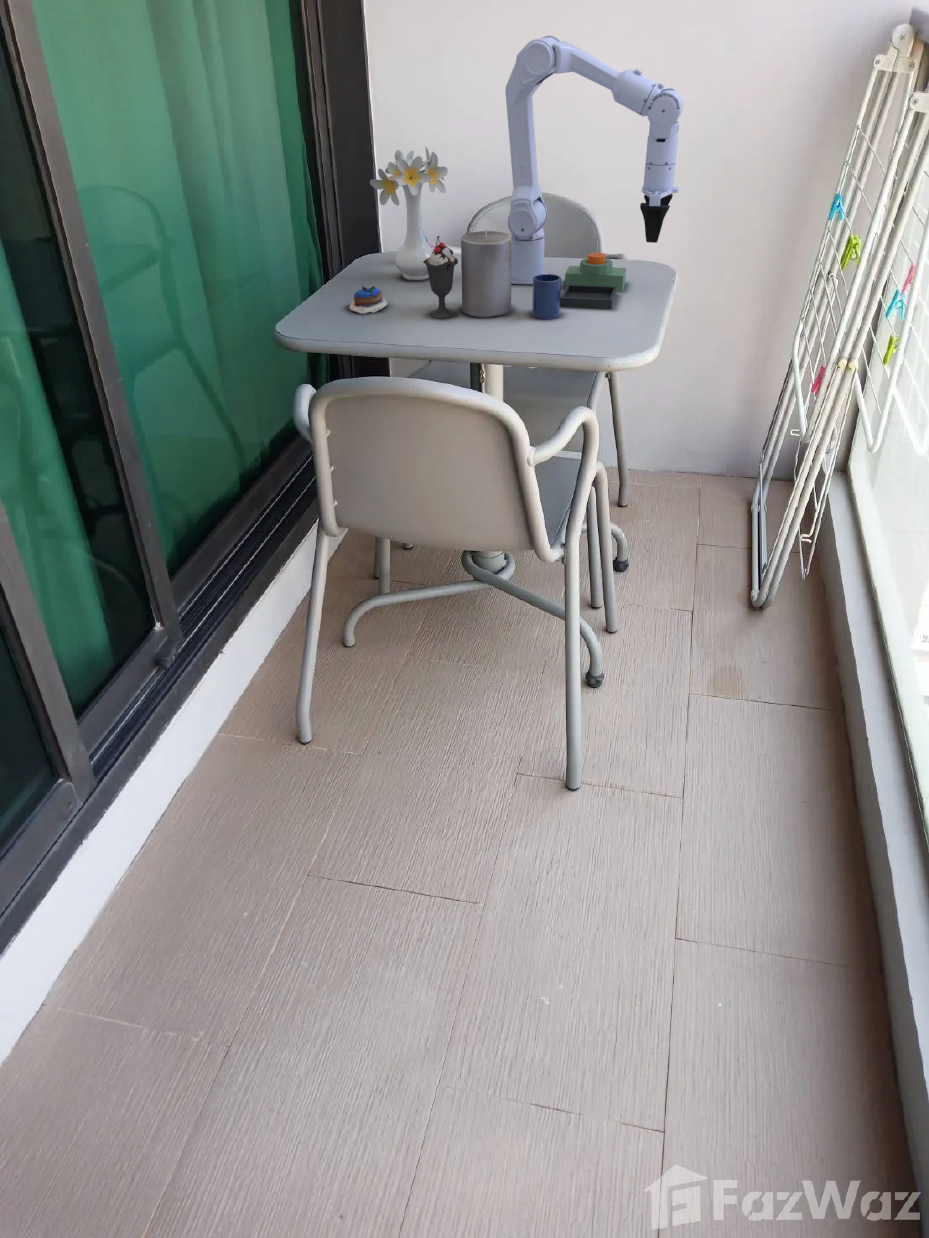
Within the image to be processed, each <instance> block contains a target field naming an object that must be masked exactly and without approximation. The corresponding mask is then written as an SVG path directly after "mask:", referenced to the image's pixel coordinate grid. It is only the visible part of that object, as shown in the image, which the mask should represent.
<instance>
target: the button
mask: <svg viewBox="0 0 929 1238" xmlns="http://www.w3.org/2000/svg"><path fill="white" fill-rule="evenodd" d="M587 258H588V263H589V264H604V263H605V258H606V259H607V255H606V253H603V252H590V253H588V254H587Z"/></svg>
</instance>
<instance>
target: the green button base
mask: <svg viewBox="0 0 929 1238" xmlns="http://www.w3.org/2000/svg"><path fill="white" fill-rule="evenodd" d="M613 264H614V263H613V260H611V259H610V258H607V257H606V258H605V263H604V264H589V263H588V257H586V258H583V259H581V260H580V262H579V265H569V266H568V268H567V270H566V271H565V274H564V289H565V288H566V286H567V285H587V286H610V287H617V292H619V293H620V292H621V293H622V292H624V288H625V285H626V276H627V267H613Z"/></svg>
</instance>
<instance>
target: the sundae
mask: <svg viewBox="0 0 929 1238" xmlns="http://www.w3.org/2000/svg"><path fill="white" fill-rule="evenodd" d="M437 243H438V244H439V245H438V246H437ZM435 244H436V247H435V248H434V250H433V252H432V254H431V256H430V257H429V258H427V259H426V260H425V261H423V263H425V264H426V266H427V270H428V275H429V278H428V283H429V285H430V290H431V291H432V293H433V294H435V295H436V296H437V298H438V307H437V309H436V310H433V311H431V312H430V313H429V316H430V318H431V317H432V318H435V319H449V318H452V317H454V316H455V315H456V312H455V311H453V310H451V309H447V306H446V296H448V295H449V294H450V293H451V291H452V290H453V283H454V271H455V267H456V266H457V265H458V263H459V259H458V258H456V257H455V256H454V251H453V250H452V249H451V248H449V247H448V246H447V245H446V243H445V242H441V240H440V236H439V235H438V236H437V237H436V243H435Z"/></svg>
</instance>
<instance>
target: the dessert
mask: <svg viewBox="0 0 929 1238" xmlns="http://www.w3.org/2000/svg"><path fill="white" fill-rule="evenodd" d="M387 305H388V301H387V300H386V299H385V298H383V292H382V291H381V289H379V288H378V287H376V286H374V285H372V286H371V287H365V286H364V285H362V288H361V289H359V290H357V291H355V293H354V294H353V301H351V302H350V304H349V307H348V309H349V310H350V311H353V312H355V313H359V314H362V315H363V314H368V313H374V314H375V313H377V312H378V311H380V310H383V309H384V308H385V307H386V306H387Z"/></svg>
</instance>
